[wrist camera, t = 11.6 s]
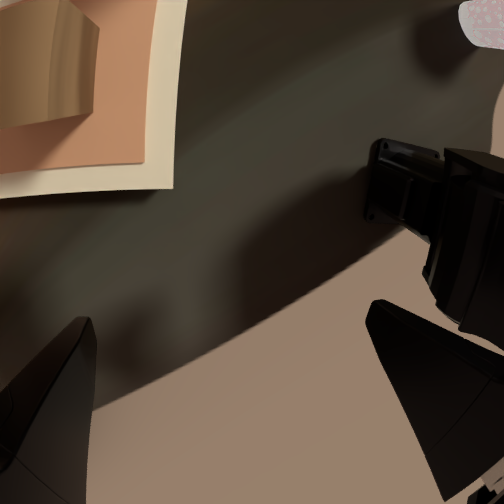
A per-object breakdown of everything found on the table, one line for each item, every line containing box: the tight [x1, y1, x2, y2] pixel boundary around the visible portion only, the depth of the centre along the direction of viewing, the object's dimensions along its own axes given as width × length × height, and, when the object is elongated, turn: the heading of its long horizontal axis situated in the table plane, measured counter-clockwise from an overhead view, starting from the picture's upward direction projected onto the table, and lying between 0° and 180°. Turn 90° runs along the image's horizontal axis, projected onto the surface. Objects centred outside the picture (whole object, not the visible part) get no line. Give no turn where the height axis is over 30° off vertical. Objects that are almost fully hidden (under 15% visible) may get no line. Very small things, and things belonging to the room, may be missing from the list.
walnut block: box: [0, 0, 100, 129], centre depth 9 cm, size 4×4×6 cm
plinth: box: [0, 0, 187, 199], centre depth 12 cm, size 13×13×3 cm
